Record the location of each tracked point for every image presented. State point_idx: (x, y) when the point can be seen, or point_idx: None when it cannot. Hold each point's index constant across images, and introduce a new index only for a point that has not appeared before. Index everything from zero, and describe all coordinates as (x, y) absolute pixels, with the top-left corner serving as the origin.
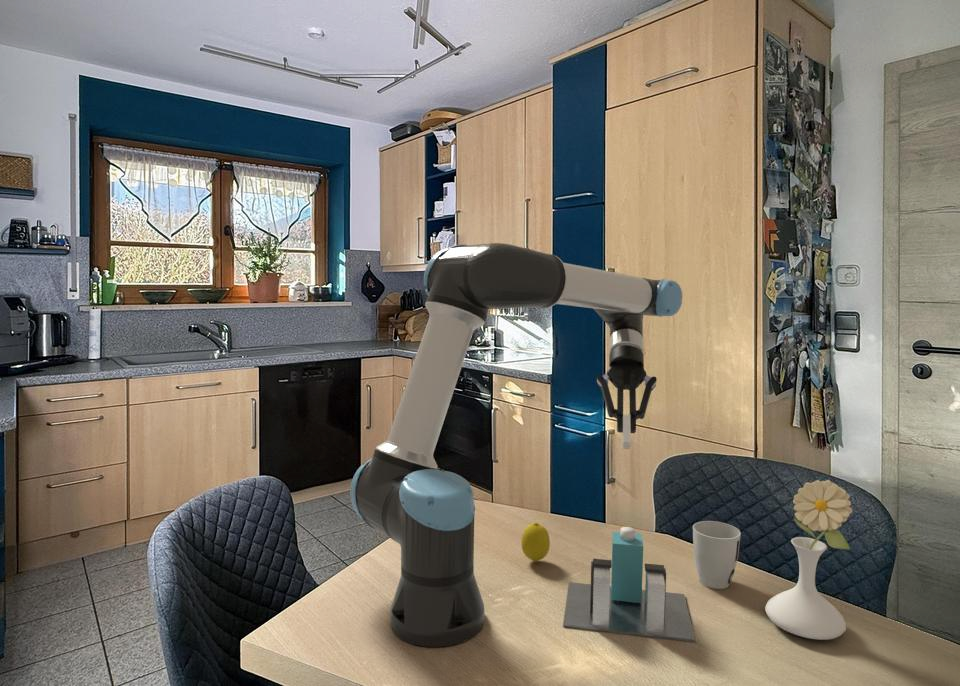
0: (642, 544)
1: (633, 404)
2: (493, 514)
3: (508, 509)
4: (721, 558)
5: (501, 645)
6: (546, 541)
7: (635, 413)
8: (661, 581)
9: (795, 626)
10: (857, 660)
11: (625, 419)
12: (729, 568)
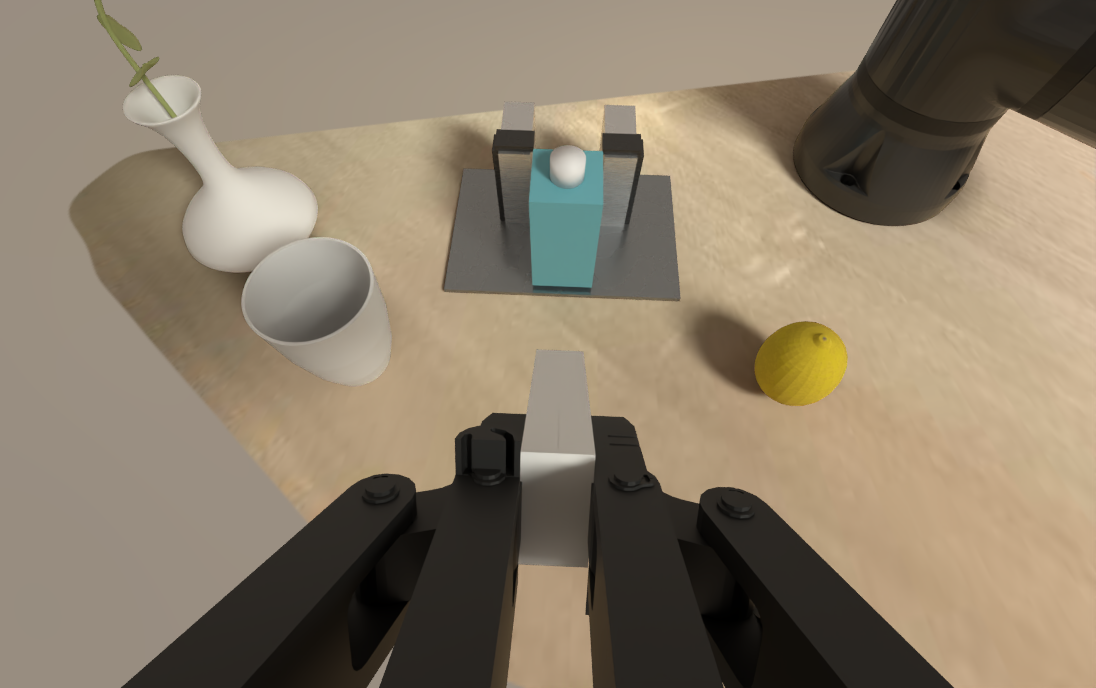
0: (534, 155)
1: (462, 551)
2: None
3: None
4: (337, 272)
5: (749, 132)
6: (768, 340)
7: (466, 451)
8: (509, 110)
9: (292, 174)
10: (235, 167)
11: (570, 427)
12: (324, 296)
